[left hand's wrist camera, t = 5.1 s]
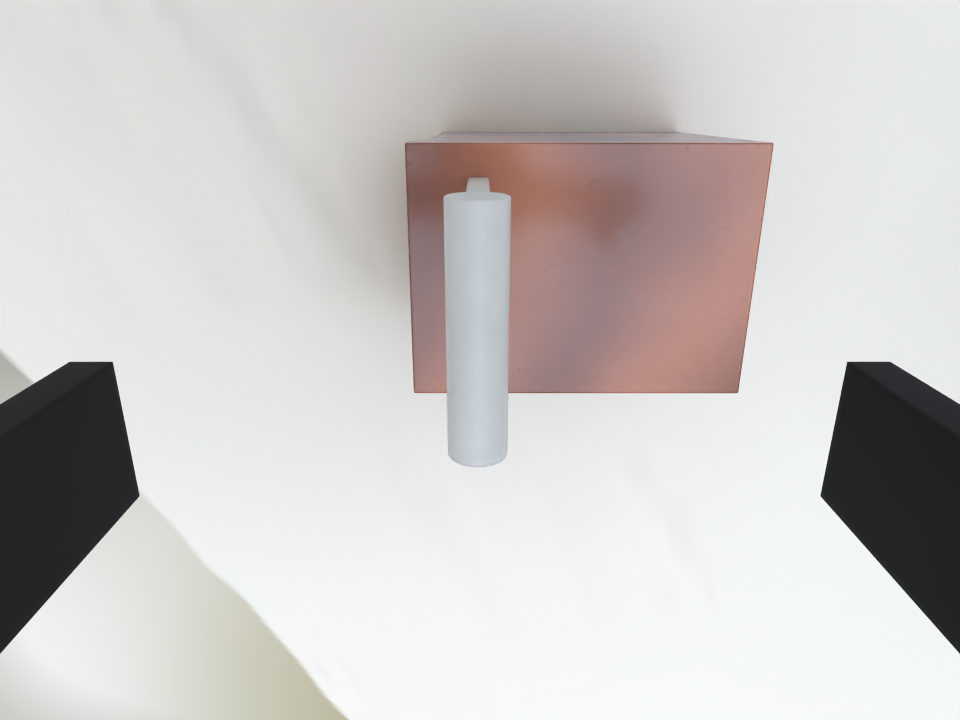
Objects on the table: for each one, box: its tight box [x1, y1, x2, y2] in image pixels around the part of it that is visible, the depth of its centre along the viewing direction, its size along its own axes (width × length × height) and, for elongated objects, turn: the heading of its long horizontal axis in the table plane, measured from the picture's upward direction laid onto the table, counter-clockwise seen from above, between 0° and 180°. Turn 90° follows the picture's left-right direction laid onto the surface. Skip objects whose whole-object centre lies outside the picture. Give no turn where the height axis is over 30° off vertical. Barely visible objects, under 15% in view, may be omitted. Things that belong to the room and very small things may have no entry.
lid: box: [405, 141, 773, 467], centre depth 21 cm, size 12×9×8 cm
